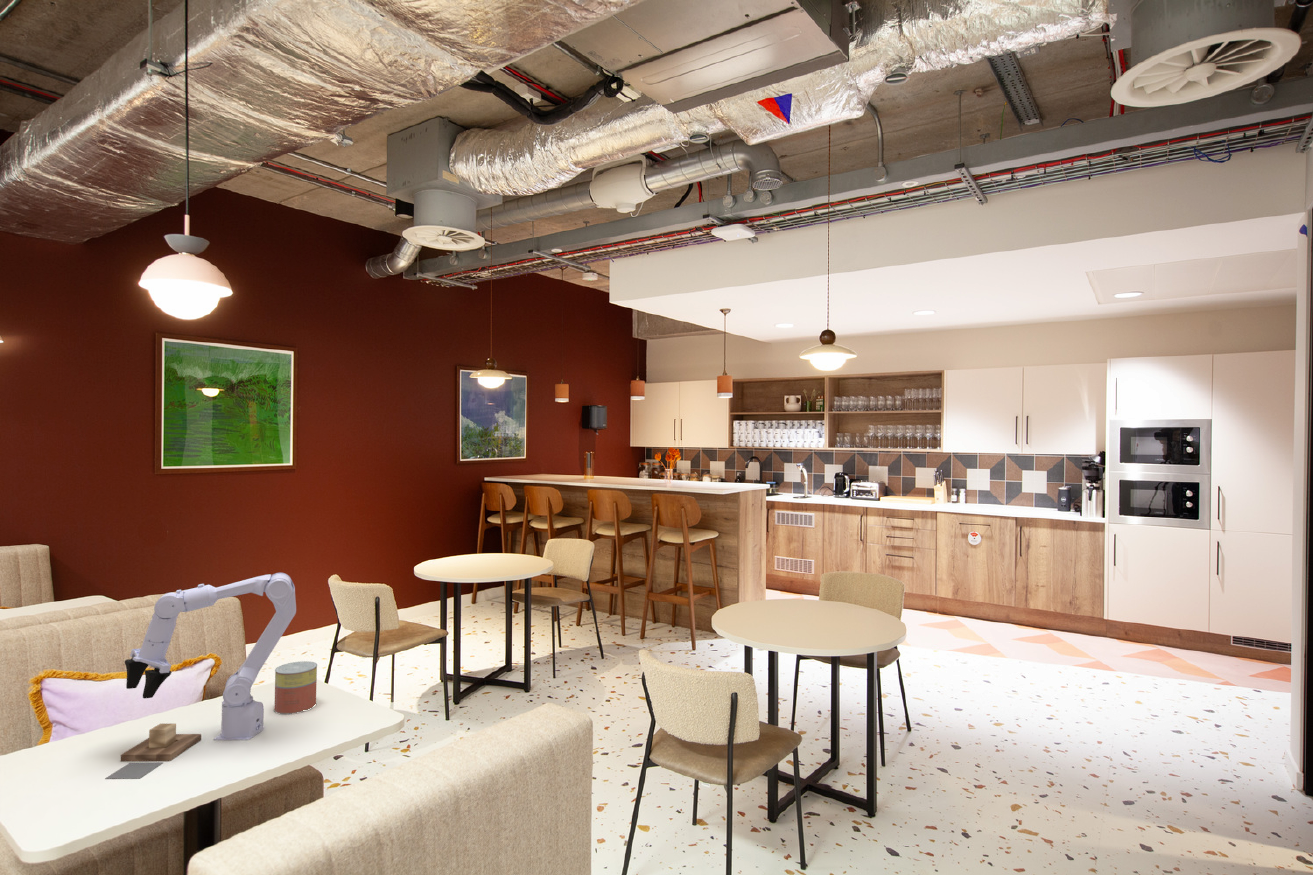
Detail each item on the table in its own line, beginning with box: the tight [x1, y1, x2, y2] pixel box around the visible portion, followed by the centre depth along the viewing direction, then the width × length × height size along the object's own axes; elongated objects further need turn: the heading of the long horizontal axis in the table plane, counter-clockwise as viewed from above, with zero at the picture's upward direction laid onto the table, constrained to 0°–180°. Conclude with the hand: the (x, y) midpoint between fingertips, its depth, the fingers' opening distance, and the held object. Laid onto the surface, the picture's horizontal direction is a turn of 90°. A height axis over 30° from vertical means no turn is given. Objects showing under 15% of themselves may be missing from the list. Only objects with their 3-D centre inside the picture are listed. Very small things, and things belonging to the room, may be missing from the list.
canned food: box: [273, 660, 318, 715], centre depth 203 cm, size 11×11×12 cm
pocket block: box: [120, 733, 202, 762], centre depth 172 cm, size 12×12×2 cm
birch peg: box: [148, 723, 177, 748], centre depth 172 cm, size 4×4×6 cm
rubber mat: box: [104, 761, 165, 780], centre depth 161 cm, size 8×8×1 cm
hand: (139, 692), depth 173 cm, fingers open, 7 cm apart
